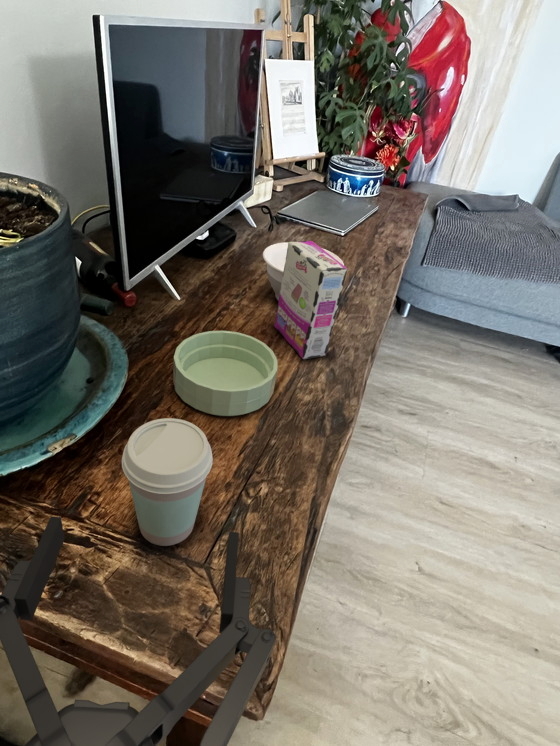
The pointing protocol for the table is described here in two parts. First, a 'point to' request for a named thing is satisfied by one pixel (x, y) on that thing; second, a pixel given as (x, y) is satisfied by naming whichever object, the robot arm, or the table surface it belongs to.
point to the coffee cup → (167, 477)
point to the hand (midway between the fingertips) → (146, 534)
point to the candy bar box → (309, 298)
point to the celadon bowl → (224, 372)
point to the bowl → (280, 264)
